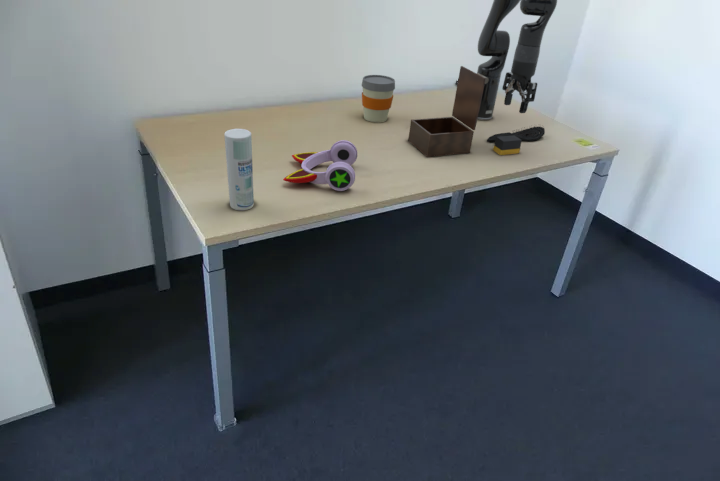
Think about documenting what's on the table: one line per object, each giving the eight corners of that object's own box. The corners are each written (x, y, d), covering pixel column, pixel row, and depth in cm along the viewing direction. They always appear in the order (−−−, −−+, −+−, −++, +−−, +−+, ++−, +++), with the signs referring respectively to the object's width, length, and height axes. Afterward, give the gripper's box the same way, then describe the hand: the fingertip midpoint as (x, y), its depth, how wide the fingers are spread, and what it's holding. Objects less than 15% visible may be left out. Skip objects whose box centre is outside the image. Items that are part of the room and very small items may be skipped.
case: (427, 157, 176) (430, 135, 172) (408, 140, 187) (410, 119, 183) (469, 153, 182) (474, 131, 178) (448, 137, 193) (452, 116, 189)
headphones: (357, 168, 146) (285, 154, 145) (351, 199, 151) (281, 185, 150) (360, 141, 163) (295, 128, 161) (353, 170, 168) (291, 157, 166)
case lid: (483, 78, 168) (497, 77, 170) (460, 66, 179) (473, 65, 181) (473, 130, 177) (486, 129, 179) (451, 115, 189) (464, 114, 190)
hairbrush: (482, 130, 193) (536, 121, 202) (480, 139, 195) (534, 130, 204) (496, 138, 187) (551, 129, 196) (494, 148, 189) (548, 138, 198)
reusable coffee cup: (374, 126, 197) (378, 86, 189) (352, 116, 205) (355, 77, 197) (398, 120, 205) (402, 81, 197) (376, 110, 212) (379, 73, 204)
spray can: (239, 213, 136) (235, 140, 126) (224, 204, 140) (218, 132, 129) (259, 205, 141) (256, 134, 130) (244, 196, 144) (240, 126, 134)
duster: (499, 155, 182) (503, 141, 179) (492, 150, 185) (495, 136, 183) (519, 153, 185) (522, 139, 182) (511, 148, 188) (514, 135, 186)
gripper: (549, 64, 164) (536, 115, 173) (522, 53, 175) (511, 101, 184) (529, 65, 162) (517, 116, 170) (503, 53, 173) (493, 102, 181)
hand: (514, 108), depth 177 cm, fingers open, 8 cm apart
